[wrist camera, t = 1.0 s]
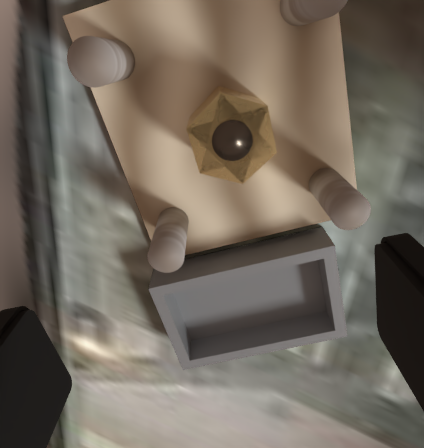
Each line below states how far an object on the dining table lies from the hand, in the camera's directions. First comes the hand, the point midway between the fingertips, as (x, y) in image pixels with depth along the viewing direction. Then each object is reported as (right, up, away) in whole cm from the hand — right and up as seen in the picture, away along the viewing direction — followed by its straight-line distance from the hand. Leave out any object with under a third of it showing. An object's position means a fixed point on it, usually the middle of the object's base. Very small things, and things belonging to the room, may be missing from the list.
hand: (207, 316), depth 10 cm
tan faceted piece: (+1, +10, +17) cm, 20 cm away
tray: (+4, -4, +25) cm, 26 cm away
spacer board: (+1, +10, +18) cm, 21 cm away
